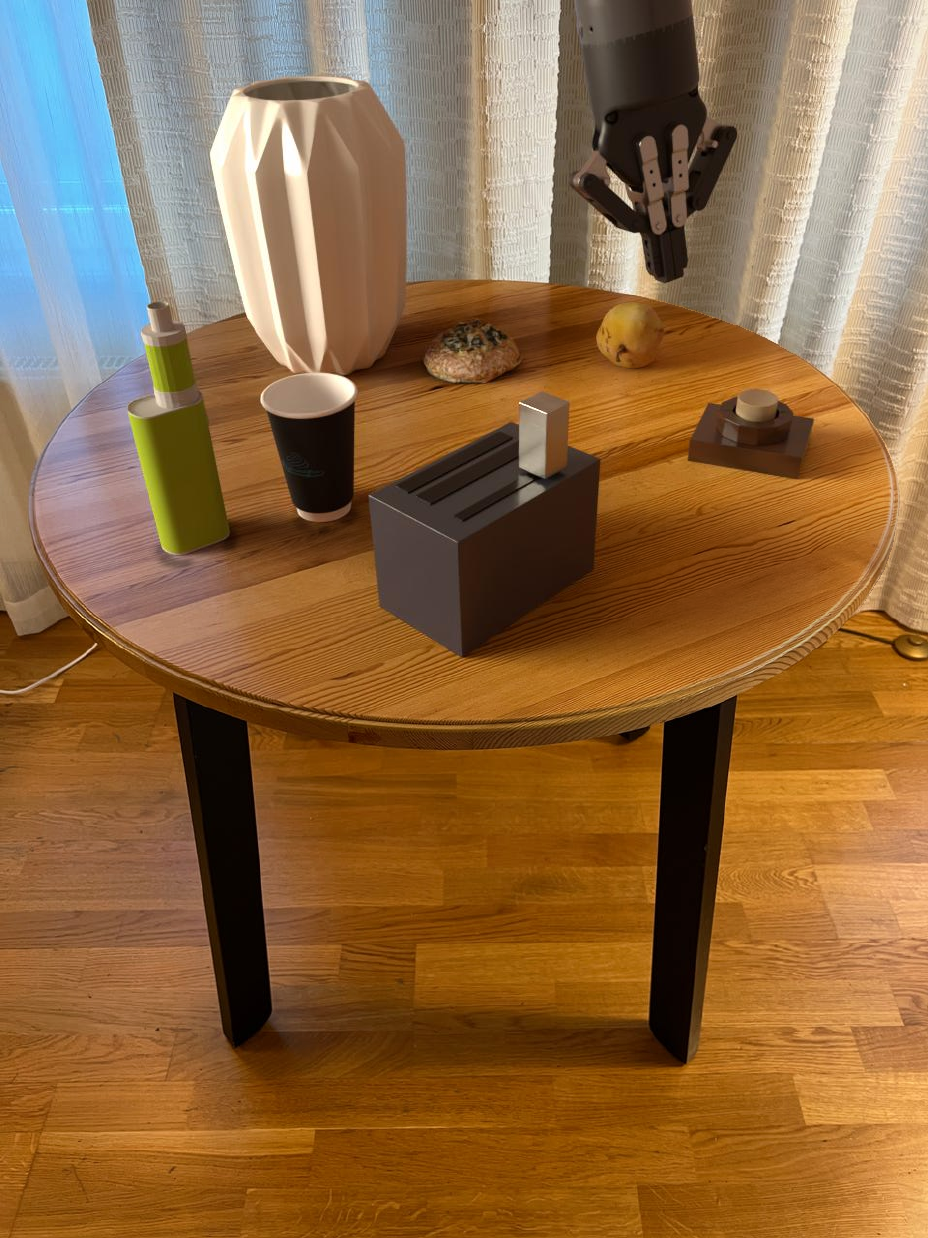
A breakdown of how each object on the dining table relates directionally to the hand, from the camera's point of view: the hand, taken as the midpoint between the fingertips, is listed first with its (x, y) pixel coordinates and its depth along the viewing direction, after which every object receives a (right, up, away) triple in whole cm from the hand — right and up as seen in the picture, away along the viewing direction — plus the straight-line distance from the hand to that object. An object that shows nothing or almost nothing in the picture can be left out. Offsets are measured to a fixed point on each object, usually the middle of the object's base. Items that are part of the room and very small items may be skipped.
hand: (669, 278), depth 78 cm
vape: (-38, -19, +9) cm, 44 cm away
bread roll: (-15, +2, +35) cm, 38 cm away
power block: (+11, -10, +19) cm, 24 cm away
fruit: (+2, +2, +35) cm, 35 cm away
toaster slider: (-10, -15, -3) cm, 18 cm away
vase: (-31, +4, +38) cm, 49 cm away
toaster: (-14, -23, +2) cm, 27 cm away
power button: (+11, -7, +16) cm, 21 cm away
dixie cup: (-28, -16, +13) cm, 35 cm away
